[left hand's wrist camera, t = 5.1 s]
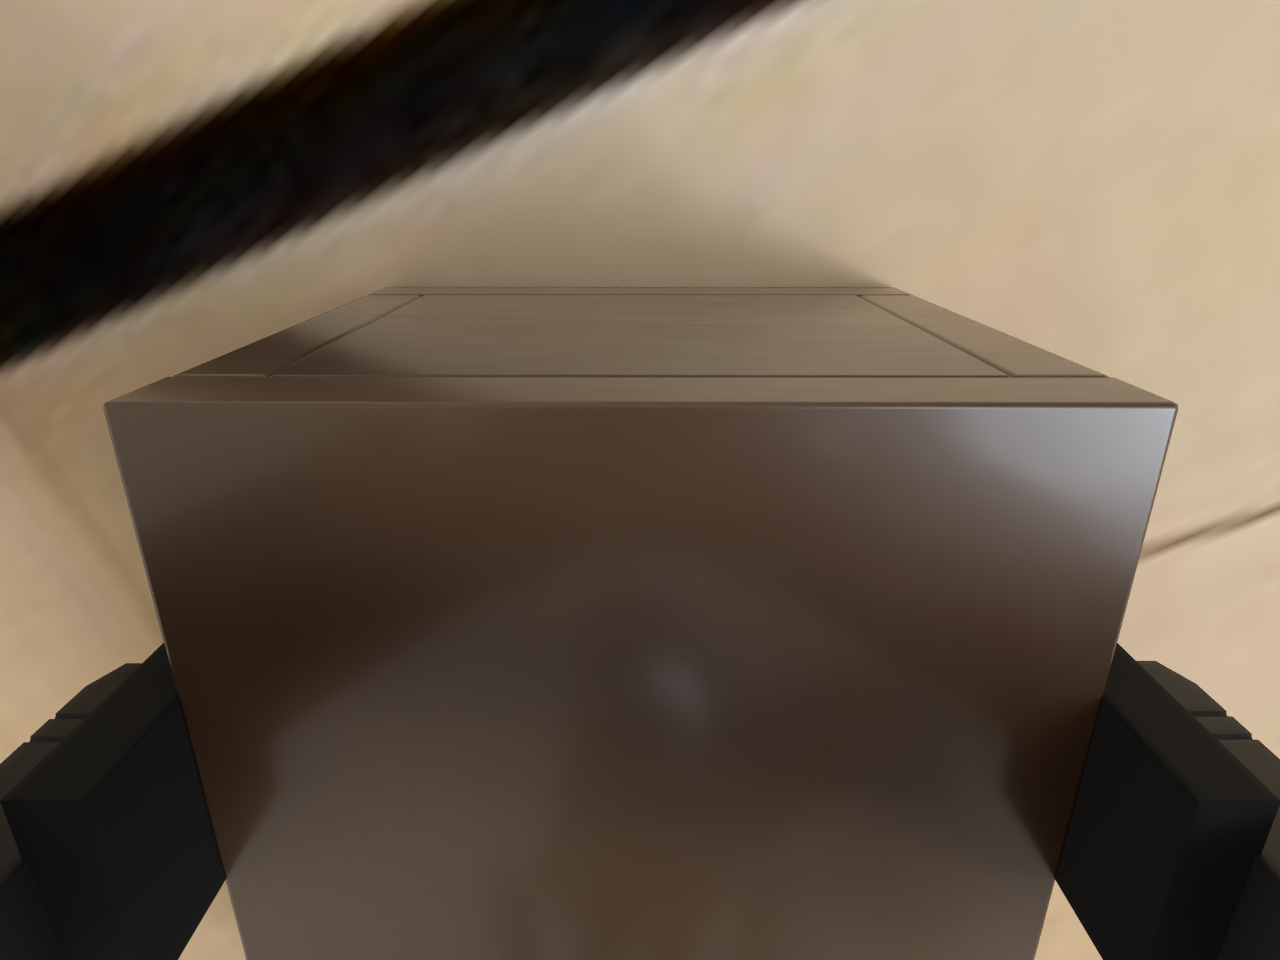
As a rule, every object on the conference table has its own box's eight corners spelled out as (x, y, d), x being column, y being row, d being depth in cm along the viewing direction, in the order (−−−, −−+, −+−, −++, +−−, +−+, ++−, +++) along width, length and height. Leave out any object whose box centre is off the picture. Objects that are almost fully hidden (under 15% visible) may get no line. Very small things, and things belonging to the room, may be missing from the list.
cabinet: (815, 981, 22) (913, 1427, 14) (464, 982, 22) (366, 1427, 14) (897, 287, 15) (1182, 404, 7) (383, 286, 15) (98, 403, 7)
